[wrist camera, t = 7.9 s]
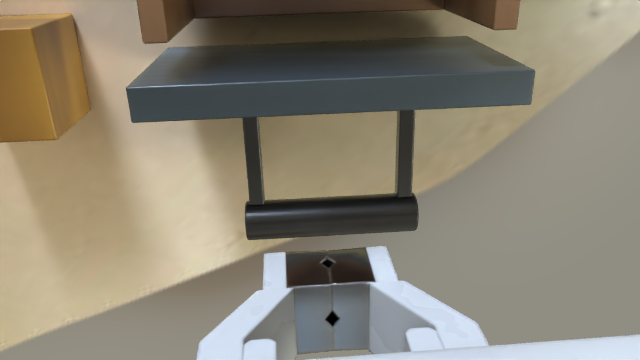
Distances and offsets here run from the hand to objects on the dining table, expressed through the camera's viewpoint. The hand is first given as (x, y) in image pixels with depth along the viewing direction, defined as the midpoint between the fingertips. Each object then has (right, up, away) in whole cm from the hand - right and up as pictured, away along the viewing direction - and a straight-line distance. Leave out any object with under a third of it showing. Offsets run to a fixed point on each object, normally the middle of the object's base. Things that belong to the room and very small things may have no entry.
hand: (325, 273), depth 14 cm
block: (-13, +8, +11) cm, 19 cm away
